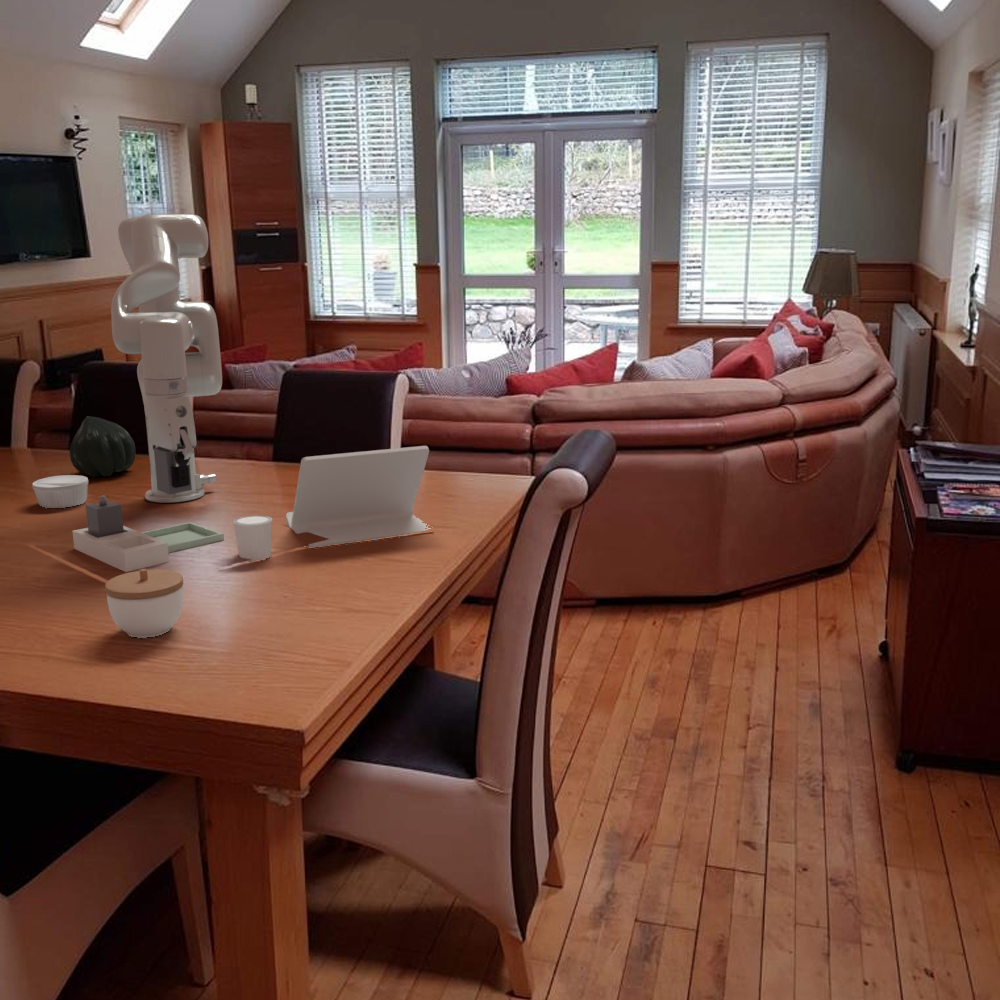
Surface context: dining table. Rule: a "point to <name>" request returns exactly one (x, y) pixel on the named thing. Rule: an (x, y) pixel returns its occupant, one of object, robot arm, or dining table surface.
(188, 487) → the plug
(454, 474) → the dining table surface
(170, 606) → the lidded jar
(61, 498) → the ramekin
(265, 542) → the white cup
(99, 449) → the squash
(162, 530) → the tray
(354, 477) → the tablet stand
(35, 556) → the dining table surface
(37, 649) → the dining table surface
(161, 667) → the dining table surface
